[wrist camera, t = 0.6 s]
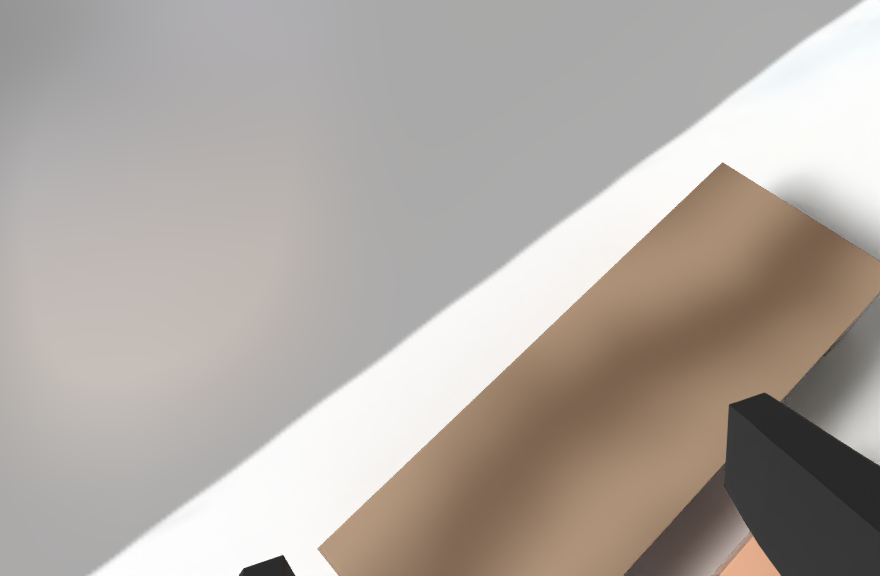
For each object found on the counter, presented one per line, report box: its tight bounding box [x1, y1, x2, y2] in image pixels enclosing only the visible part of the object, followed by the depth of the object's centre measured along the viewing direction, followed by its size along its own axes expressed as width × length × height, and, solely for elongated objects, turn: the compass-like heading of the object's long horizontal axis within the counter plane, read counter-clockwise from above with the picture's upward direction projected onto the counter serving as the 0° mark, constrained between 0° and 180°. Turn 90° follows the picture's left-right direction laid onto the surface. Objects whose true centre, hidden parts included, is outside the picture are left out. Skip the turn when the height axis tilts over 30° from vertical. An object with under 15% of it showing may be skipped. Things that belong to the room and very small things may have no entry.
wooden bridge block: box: [318, 162, 880, 576], centre depth 26 cm, size 7×20×5 cm, turn 133°
